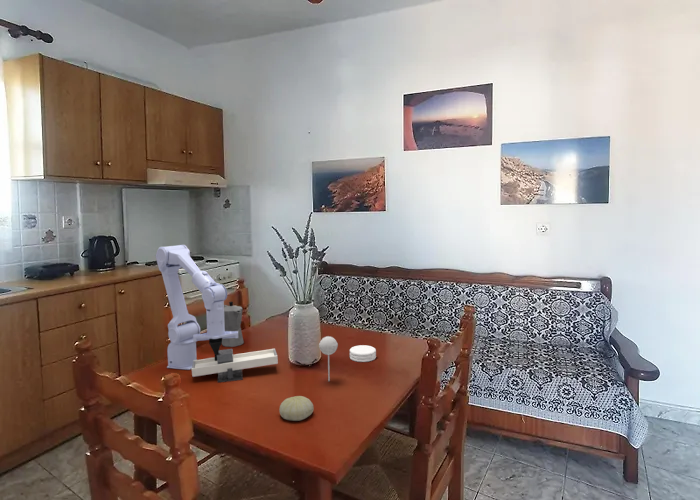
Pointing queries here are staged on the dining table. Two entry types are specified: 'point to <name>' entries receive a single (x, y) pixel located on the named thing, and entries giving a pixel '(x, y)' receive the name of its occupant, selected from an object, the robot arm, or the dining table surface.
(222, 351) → the grey block
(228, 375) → the stand
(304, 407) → the sea urchin shell
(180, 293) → the robot arm
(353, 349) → the coaster
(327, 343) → the lollipop
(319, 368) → the dining table surface
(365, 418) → the dining table surface
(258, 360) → the beam
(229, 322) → the coffeepot
